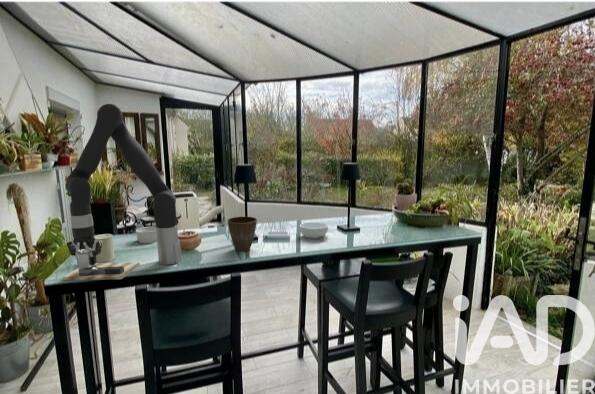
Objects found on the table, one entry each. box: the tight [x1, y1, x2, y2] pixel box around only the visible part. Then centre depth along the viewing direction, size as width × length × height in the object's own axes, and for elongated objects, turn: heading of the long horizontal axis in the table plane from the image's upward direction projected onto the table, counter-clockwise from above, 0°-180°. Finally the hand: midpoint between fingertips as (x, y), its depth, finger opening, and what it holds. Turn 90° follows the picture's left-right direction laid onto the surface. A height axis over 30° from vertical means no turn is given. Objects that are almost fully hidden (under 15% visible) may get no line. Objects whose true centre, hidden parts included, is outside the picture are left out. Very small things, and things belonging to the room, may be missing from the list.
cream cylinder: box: [93, 233, 116, 263], centre depth 156 cm, size 9×9×12 cm
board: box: [62, 262, 141, 281], centre depth 141 cm, size 24×16×1 cm, turn 90°
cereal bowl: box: [299, 221, 329, 240], centre depth 192 cm, size 17×17×7 cm
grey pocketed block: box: [76, 249, 93, 269], centre depth 136 cm, size 5×5×6 cm
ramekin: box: [135, 225, 157, 244], centre depth 187 cm, size 13×13×7 cm
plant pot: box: [227, 216, 258, 253], centre depth 169 cm, size 15×15×16 cm
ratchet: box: [77, 265, 124, 276], centre depth 137 cm, size 18×6×7 cm, turn 90°
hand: (87, 264), depth 137 cm, fingers closed on grey pocketed block, 4 cm apart
